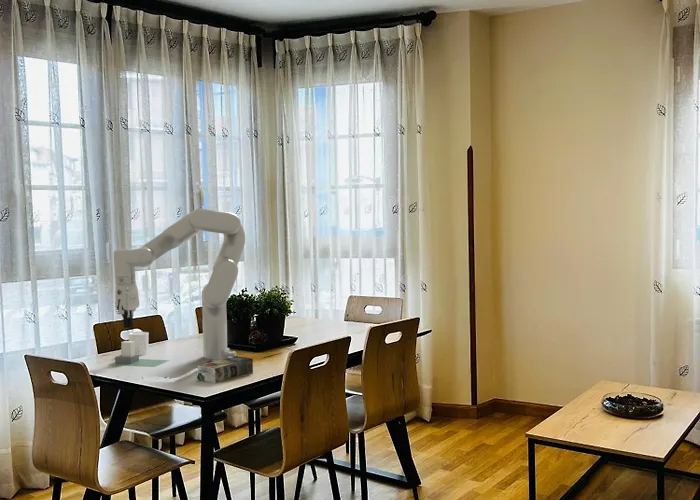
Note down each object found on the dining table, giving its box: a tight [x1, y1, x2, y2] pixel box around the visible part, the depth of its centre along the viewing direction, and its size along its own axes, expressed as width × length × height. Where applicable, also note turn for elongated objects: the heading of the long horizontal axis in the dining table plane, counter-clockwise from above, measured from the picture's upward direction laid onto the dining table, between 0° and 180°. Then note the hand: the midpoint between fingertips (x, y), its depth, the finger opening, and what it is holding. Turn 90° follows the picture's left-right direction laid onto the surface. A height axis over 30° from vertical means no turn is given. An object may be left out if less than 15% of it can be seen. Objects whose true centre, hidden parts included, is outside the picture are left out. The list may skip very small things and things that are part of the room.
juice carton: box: [196, 355, 254, 384], centre depth 254 cm, size 20×10×6 cm, turn 143°
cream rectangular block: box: [120, 340, 135, 357], centre depth 274 cm, size 4×3×8 cm
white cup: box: [128, 331, 149, 356], centre depth 290 cm, size 8×8×10 cm
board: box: [107, 354, 170, 368], centre depth 273 cm, size 20×12×4 cm, turn 77°
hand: (128, 327), depth 274 cm, fingers closed
